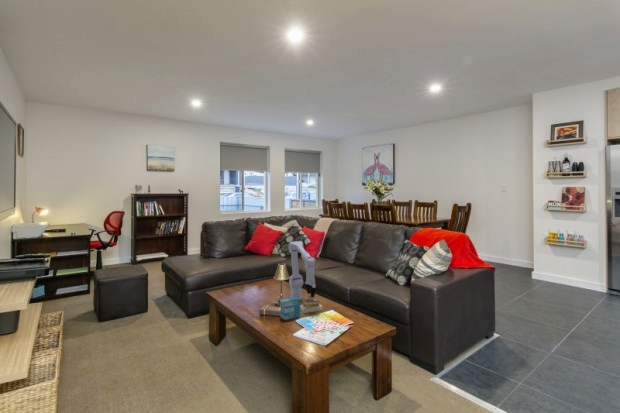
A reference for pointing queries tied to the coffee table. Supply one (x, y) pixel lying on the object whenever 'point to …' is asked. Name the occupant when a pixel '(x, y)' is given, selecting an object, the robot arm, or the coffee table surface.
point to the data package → (290, 308)
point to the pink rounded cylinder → (310, 298)
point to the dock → (312, 309)
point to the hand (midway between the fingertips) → (310, 295)
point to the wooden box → (311, 303)
